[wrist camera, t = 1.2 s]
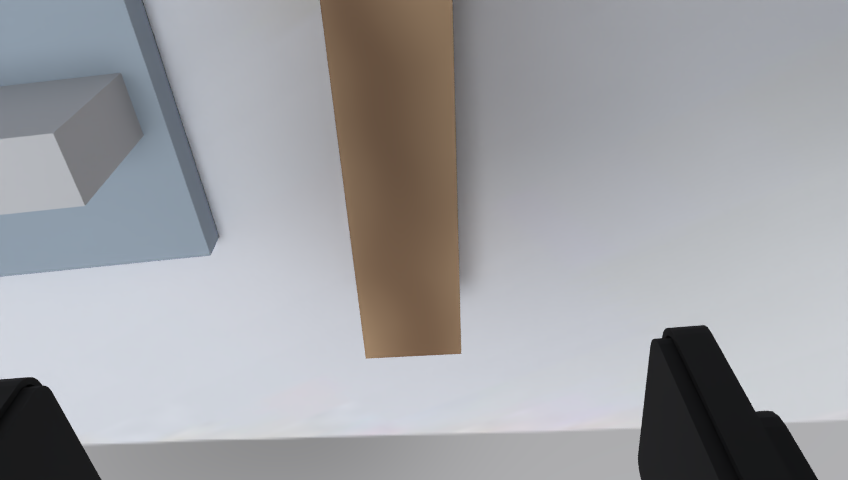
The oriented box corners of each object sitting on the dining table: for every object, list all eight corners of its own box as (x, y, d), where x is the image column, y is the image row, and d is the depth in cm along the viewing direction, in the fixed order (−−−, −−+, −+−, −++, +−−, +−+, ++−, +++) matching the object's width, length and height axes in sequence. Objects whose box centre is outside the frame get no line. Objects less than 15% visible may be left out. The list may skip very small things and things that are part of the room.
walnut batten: (436, -301, 20) (443, -330, 16) (454, 282, 32) (460, 353, 28) (305, -293, 20) (278, -321, 16) (371, 287, 32) (365, 358, 28)
